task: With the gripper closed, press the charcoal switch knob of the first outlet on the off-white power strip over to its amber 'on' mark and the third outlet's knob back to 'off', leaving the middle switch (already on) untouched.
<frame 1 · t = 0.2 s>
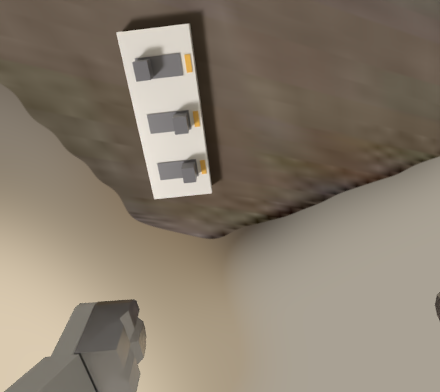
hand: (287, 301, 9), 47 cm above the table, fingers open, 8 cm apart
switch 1: (143, 70, 46), point 5 cm above the table, slide at -2.0 cm
power strip: (171, 117, 54), on the table
switch 3: (189, 172, 53), point 5 cm above the table, slide at 2.0 cm
switch 2: (181, 123, 50), point 5 cm above the table, slide at 2.0 cm
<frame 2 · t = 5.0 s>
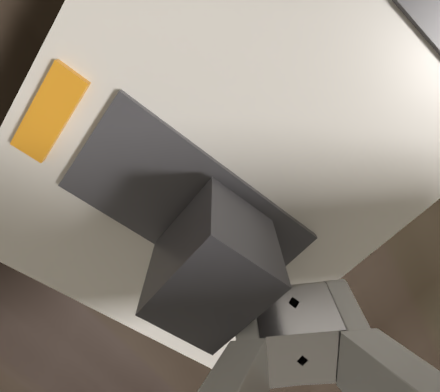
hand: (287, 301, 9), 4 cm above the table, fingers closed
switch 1: (212, 261, 8), point 5 cm above the table, slide at -0.6 cm, touching gripper
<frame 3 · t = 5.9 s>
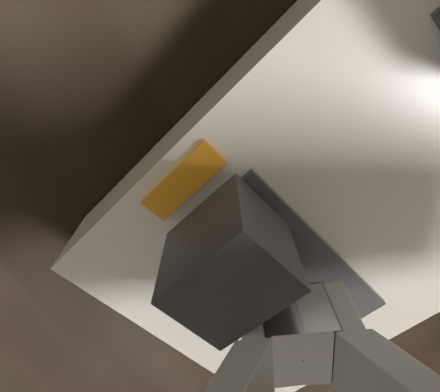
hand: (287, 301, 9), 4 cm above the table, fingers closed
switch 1: (228, 257, 8), point 5 cm above the table, slide at 2.6 cm, touching gripper
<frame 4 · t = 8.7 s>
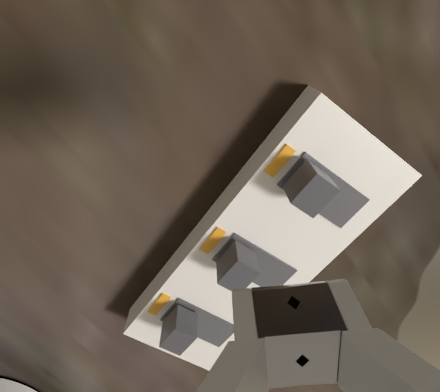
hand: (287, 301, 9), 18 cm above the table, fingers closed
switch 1: (178, 329, 28), point 5 cm above the table, slide at 2.1 cm
power strip: (250, 242, 30), on the table
switch 3: (309, 188, 22), point 5 cm above the table, slide at 2.0 cm
switch 2: (237, 267, 25), point 5 cm above the table, slide at 2.0 cm
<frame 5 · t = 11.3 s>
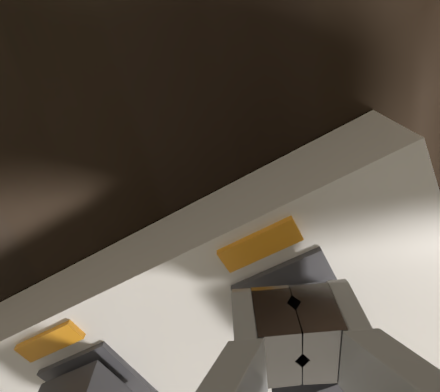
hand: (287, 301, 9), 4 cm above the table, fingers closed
power strip: (140, 338, 16), on the table
switch 3: (321, 366, 10), point 5 cm above the table, slide at 0.6 cm, touching gripper
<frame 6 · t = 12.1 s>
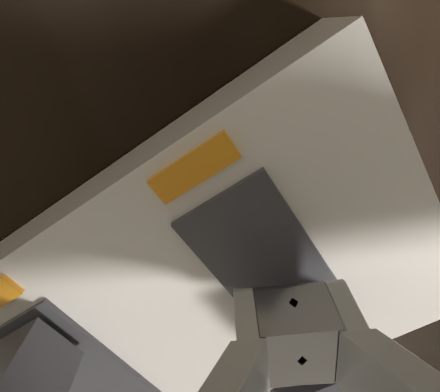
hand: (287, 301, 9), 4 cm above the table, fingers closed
power strip: (106, 307, 15), on the table
switch 3: (323, 364, 10), point 5 cm above the table, slide at -2.4 cm, touching gripper
switch 2: (14, 387, 10), point 5 cm above the table, slide at 2.0 cm
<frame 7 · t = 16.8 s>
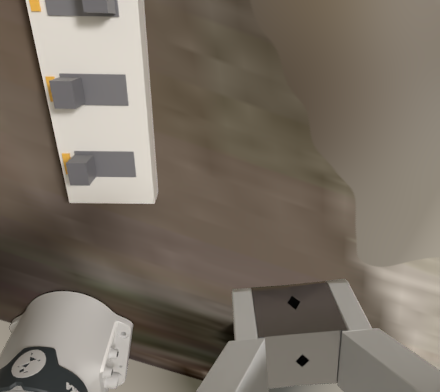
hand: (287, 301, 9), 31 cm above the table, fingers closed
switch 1: (82, 169, 36), point 5 cm above the table, slide at 2.1 cm
power strip: (103, 84, 36), on the table
switch 2: (68, 92, 32), point 5 cm above the table, slide at 2.0 cm
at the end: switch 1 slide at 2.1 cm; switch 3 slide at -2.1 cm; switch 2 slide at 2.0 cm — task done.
